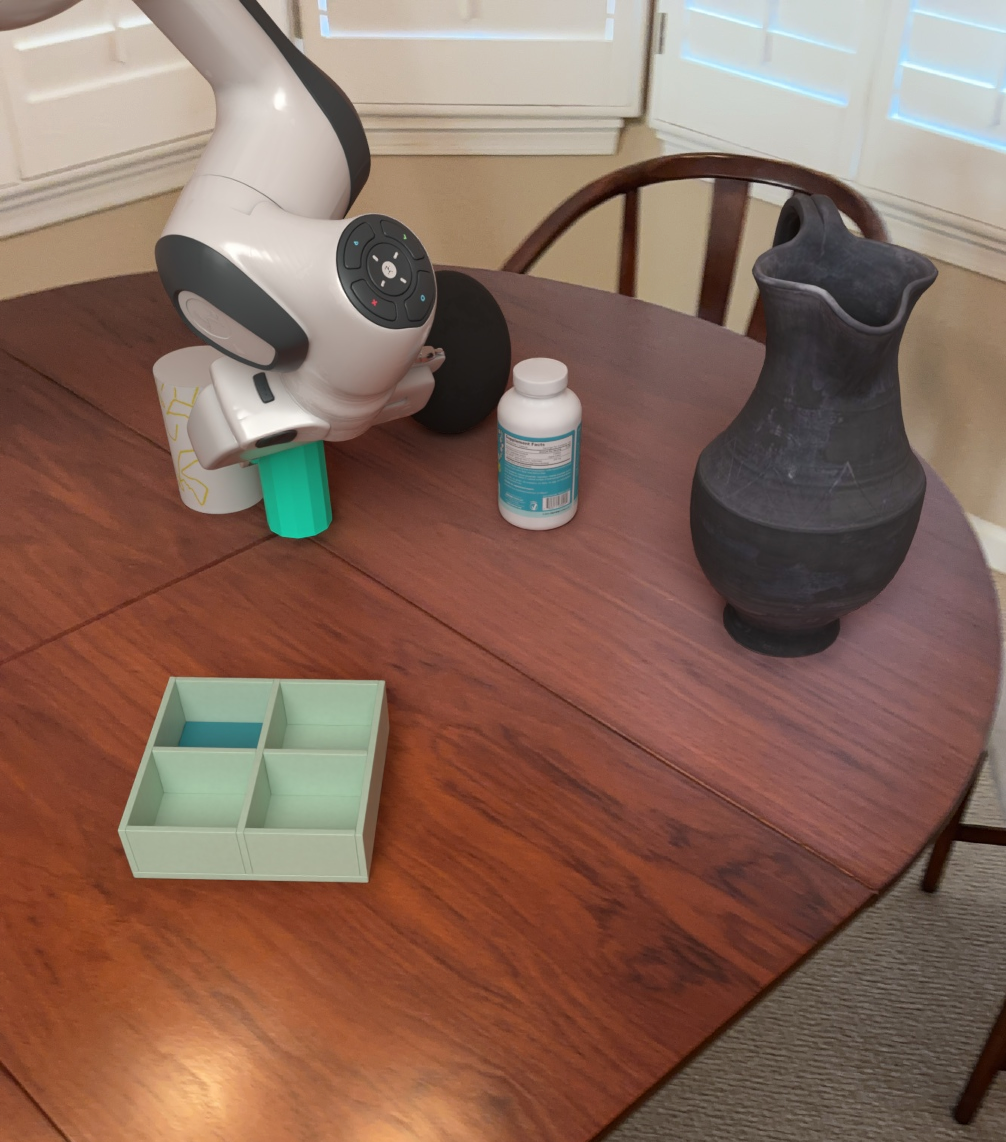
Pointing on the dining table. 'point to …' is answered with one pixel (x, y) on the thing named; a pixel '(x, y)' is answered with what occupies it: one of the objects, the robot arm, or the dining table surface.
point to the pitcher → (815, 440)
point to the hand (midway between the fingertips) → (295, 443)
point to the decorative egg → (466, 355)
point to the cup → (177, 393)
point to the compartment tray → (259, 781)
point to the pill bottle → (539, 446)
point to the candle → (296, 491)
